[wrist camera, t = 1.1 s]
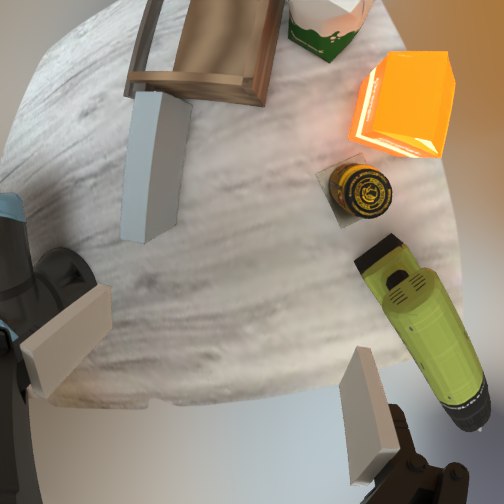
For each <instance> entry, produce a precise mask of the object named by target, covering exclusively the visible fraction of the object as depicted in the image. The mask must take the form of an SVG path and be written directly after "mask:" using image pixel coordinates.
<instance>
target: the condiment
mask: <svg viewBox="0 0 504 504" xmlns="http://www.w3.org/2000/svg"><path fill="white" fill-rule="evenodd" d="M316 176H317V178H318V181H319V183H320V185H321V187H322V189H323V191H324V193H325V195H326V197H327V199H328V201H329V203H330V205H331V208H332V210H333V212H334V214H335V216H336V218H337V221H338V223H339V225H340V227H341V229H342V228H344V227H346V226H348V225H350V224H352V223H354V222H356V221H358V220H360V219H362V218H364V219H367V218H368V219H372V218H376V217H378V216H380V215H382V214H383V213H385V212H386V211H387V209H388V208H389V206H390V204H391V202H392V187H391V185H390V183H389V181H388V179H387V178H386V177H385V176H384V174H382V173H381V172H379V171H378V170H377V169H376V168H374V167H372V166H369V165H367V163H366V161H365V159H364V157H363V154H362V153H360V154H358V155H356V156H353V157H351V158H349V159H347V160H345V161H343V162H340V163H338V164H336V165H334V166H332V167H330V168H328V169H326V170H323V171H321V172H319V173H317V174H316Z"/></svg>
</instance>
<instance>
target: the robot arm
mask: <svg viewBox="0 0 504 504" xmlns="http://www.w3.org/2000/svg"><path fill="white" fill-rule="evenodd" d="M26 223H27V221H26V219H25V215H24V209H23V202H22V199H21V197H20V196H19V195H18V194H16V193H0V504H43V502H42V498H41V493H40V489H39V484H38V480H37V474H36V468H35V462H34V455H33V448H32V440H31V431H30V419H29V405H28V391H27V387H28V386H29V385H30V384H31V386H32V389H33V392H34V393H35V394H37V395H39V396H40V397H42V398H44V399H45V400H46V399H47V398H48V397H49V396H50V395H51V394H52V393H53V391H54V390H55V389H56V388H57V387H58V386H59V385H60V384H61V383H62V382H63V380H64V379H65V378H66V377H67V376H68V375H69V374H70V373H71V372H72V371H73V370H74V369H75V368H76V366H77V365H78V364H79V363H80V362H81V361H82V360H83V359H84V358H85V357H86V356H87V355H88V354H89V353H90V352H91V351H92V350H93V349H94V347H95V346H96V345H97V344H98V343H99V342H100V341H101V340H102V339H103V338H104V337H105V336H106V335H107V334H108V333H109V332H110V331H111V330H112V306H111V287H110V286H107V285H104V284H101V283H100V284H98V285H97V284H96V281H95V278H94V276H93V274H92V272H91V270H90V268H89V267H88V265H87V264H86V263H85V261H84V260H83V259H82V258H81V257H80V256H79V255H77V254H76V253H75V252H73V251H71V250H69V249H66V248H56V249H53V250H51V251H49V252H47V253H45V254H44V255H43V256H42V257H41V259H40V260H39V261H38V263H37V264H36V265H35V266H34V267H33V266H32V261H31V255H30V249H29V242H28V235H27V228H26ZM339 388H340V396H341V403H342V411H343V419H344V426H345V435H346V444H347V453H348V462H349V474H350V485H351V486H368V485H369V484H370V483H371V482H372V481H373V480H374V482H375V487H374V488H373V489H372V490H371V491H370V492H369V493H368V494H367V495H366V496H365V499H364V500H363V501H362V502H361V503H360V504H466V501H467V494H468V485H469V472H468V470H467V468H466V467H465V466H463V465H462V464H460V463H456V462H453V463H450V464H448V465H447V466H446V467H445V468H444V469H443V468H438V467H434V466H430V465H428V462H427V460H426V459H425V458H424V457H423V456H422V455H420V454H417V453H416V451H415V447H414V444H413V440H412V437H411V434H410V431H409V429H408V425H407V422H406V418H405V415H404V412H403V411H402V410H401V408H400V407H399V406H398V405H397V404H388V403H387V399H386V396H385V393H384V390H383V386H382V383H381V380H380V377H379V374H378V370H377V367H376V364H375V361H374V358H373V355H372V352H371V349H370V348H365V347H359V346H357V347H356V349H355V351H354V354H353V356H352V358H351V361H350V363H349V365H348V367H347V370H346V372H345V374H344V376H343V378H342V381H341V383H340V385H339Z"/></svg>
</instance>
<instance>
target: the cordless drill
mask: <svg viewBox="0 0 504 504" xmlns="http://www.w3.org/2000/svg"><path fill="white" fill-rule="evenodd" d="M354 263H355V265H356V266H357V268H358V270H359V272H360V274H361V276H362V278H363V280H364V281H365V283H366V284H367V286H368V287H369V288H370V290H371V291H372V293H373V294H374V296H375V297H376V299H377V300H378V302H379V303H380V305H381V306H382V309H383V311H384V313H385V315H386V316H387V318H388V319H389V321H390V322H391V324H392V325H393V327H394V328H395V330H396V332H397V333H398V335H399V336H400V338H401V339H402V341H403V343H404V344H405V346H406V347H407V349H408V351H409V352H410V354H411V356H412V357H413V359H414V360H415V362H416V364H417V365H418V367H419V369H420V370H421V372H422V373H423V375H424V377H425V378H426V380H427V382H428V384H429V385H430V387H431V389H432V390H433V392H434V394H435V395H436V397H437V398H438V400H439V402H440V403H441V405H442V406H443V408H444V409H445V411H446V412H447V413H448V415H449V416H450V417H451V419H452V420H453V422H454V423H455V424H456V425H457V426H458V427H459V428H460V429H461V430H463V431H465V432H473V431H476V430H479V431H481V428H482V426H483V425H484V424H485V423H486V422H487V421H488V419H489V417H490V413H491V401H490V396H489V393H488V385H487V382H486V378H485V375H484V372H483V369H482V367H481V364H480V362H479V359H478V357H477V355H476V352H475V350H474V348H473V345H472V343H471V341H470V339H469V336H468V334H467V332H466V330H465V328H464V326H463V323H462V321H461V319H460V317H459V315H458V313H457V311H456V309H455V307H454V305H453V303H452V301H451V300H450V298H449V296H448V294H447V292H446V290H445V288H444V286H443V284H442V283H441V281H440V279H439V277H438V275H437V274H436V272H434V271H433V270H431V269H428V268H422V269H420V267H419V265H418V264H417V262H416V260H415V258H414V257H413V255H412V253H411V252H410V250H409V248H408V247H407V246H406V245H405V244H404V243H403V242H401V241H400V240H399V239H398V238H397V237H396V236H394V235H393V234H392V233H391V234H390V235H388V236H387V237H386V238H384V239H383V240H382V241H381V242H379V243H378V244H377V245H375V246H374V247H372V248H371V249H370V250H368V251H367V252H366V253H364V254H363V255H362V256H360V257H359V258H358V259H356V260H355V261H354Z"/></svg>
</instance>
